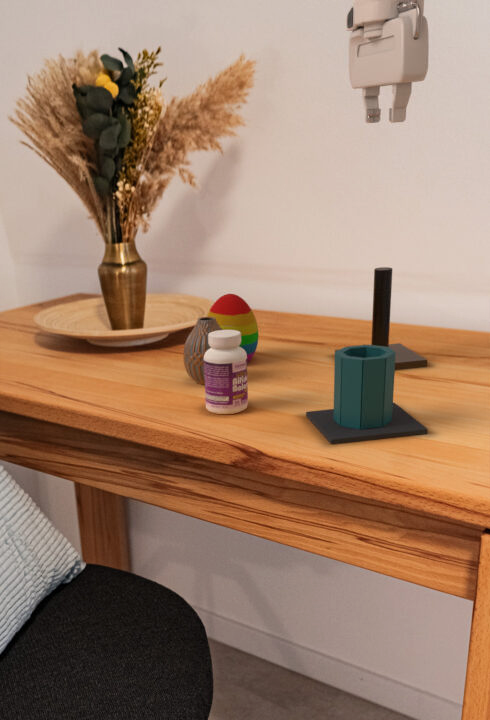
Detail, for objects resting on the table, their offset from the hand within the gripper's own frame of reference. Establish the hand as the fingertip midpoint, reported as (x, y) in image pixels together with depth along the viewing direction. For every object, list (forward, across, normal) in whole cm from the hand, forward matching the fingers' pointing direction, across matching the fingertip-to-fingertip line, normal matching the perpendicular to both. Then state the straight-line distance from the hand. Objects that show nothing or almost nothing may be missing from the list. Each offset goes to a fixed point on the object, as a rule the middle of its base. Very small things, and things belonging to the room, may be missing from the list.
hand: (384, 122), depth 117 cm
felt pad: (+31, -35, +14) cm, 49 cm away
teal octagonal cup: (+30, -35, +14) cm, 48 cm away
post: (+31, -10, +3) cm, 33 cm away
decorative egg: (+31, -2, +23) cm, 39 cm away
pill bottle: (+31, -24, +28) cm, 48 cm away
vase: (+31, -11, +28) cm, 43 cm away
